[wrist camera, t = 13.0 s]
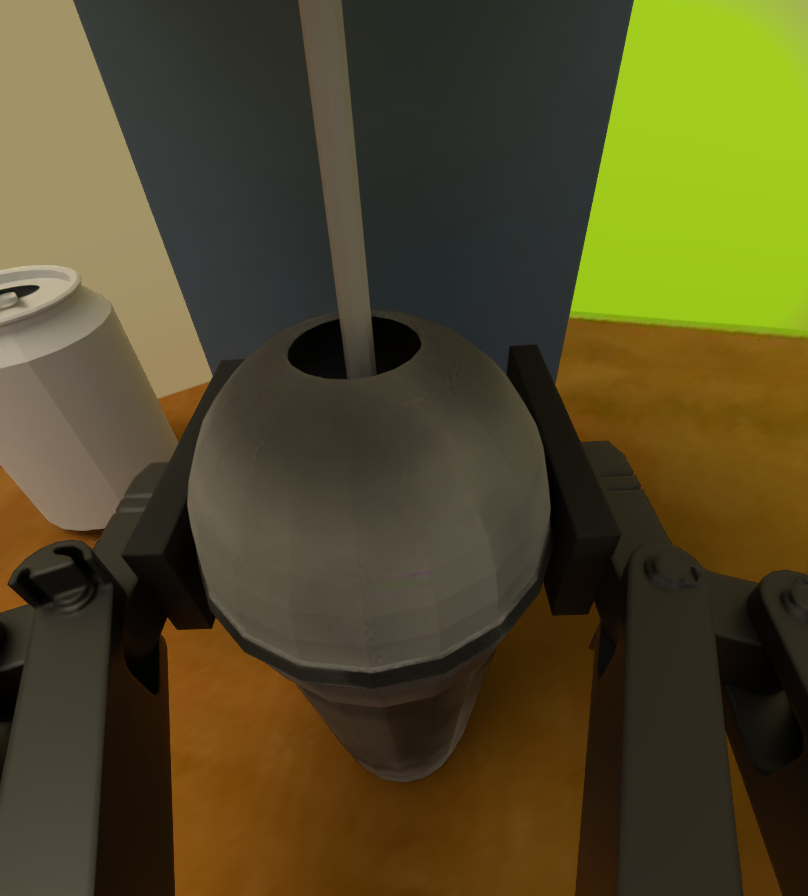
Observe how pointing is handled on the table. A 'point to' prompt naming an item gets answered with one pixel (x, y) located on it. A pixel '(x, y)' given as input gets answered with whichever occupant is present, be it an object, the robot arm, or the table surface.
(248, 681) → the table surface
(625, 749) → the robot arm
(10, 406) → the can
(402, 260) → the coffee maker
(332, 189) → the beverage cup
